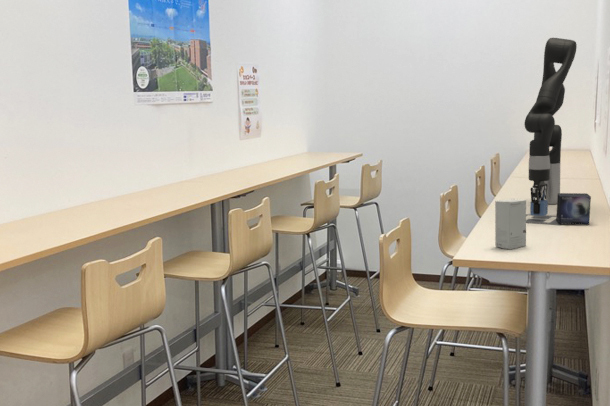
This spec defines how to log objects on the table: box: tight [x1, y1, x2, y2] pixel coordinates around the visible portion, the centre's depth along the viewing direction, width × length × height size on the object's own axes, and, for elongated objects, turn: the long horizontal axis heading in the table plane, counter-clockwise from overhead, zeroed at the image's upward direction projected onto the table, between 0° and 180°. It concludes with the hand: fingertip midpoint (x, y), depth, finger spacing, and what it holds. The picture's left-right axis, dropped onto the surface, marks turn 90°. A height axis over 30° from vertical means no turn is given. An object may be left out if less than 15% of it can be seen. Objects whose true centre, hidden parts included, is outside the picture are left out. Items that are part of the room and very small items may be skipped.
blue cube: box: [529, 200, 549, 216], centre depth 262 cm, size 5×5×5 cm
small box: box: [556, 192, 592, 226], centre depth 252 cm, size 11×6×10 cm, turn 80°
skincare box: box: [494, 198, 527, 250], centre depth 219 cm, size 8×6×15 cm
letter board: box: [526, 213, 562, 226], centre depth 263 cm, size 17×20×1 cm
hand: (538, 212), depth 263 cm, fingers closed on blue cube, 5 cm apart
